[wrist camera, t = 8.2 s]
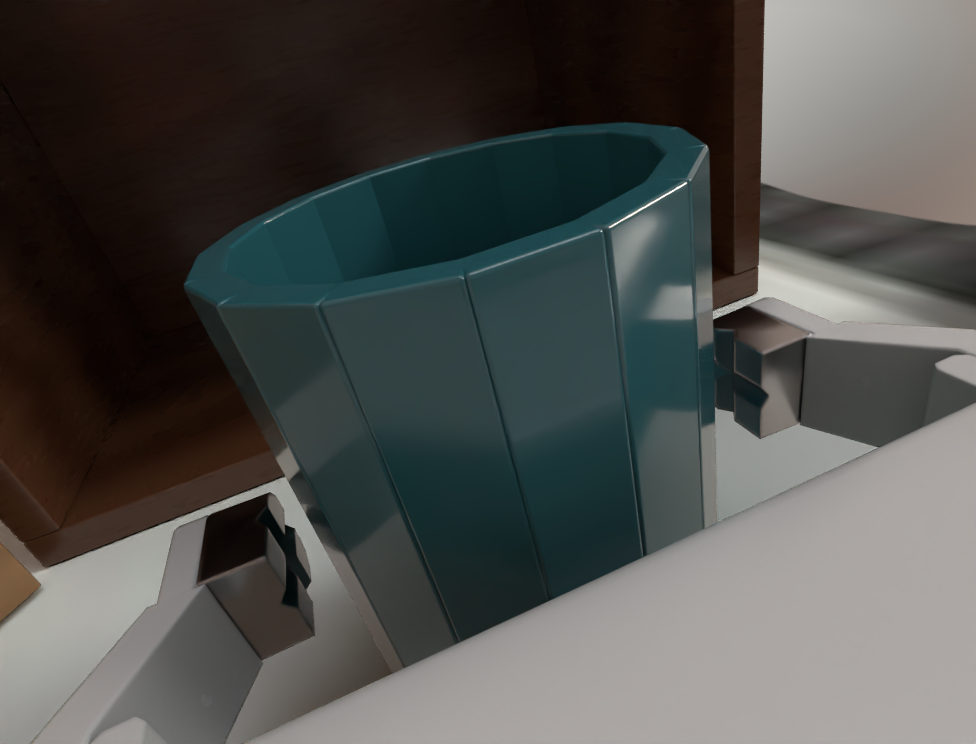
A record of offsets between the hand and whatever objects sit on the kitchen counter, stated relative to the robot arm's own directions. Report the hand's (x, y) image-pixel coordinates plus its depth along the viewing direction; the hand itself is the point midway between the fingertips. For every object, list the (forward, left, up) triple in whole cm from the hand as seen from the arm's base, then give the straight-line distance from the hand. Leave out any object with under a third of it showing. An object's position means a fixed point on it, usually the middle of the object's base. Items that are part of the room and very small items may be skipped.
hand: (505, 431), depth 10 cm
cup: (0, 0, -6) cm, 6 cm away
